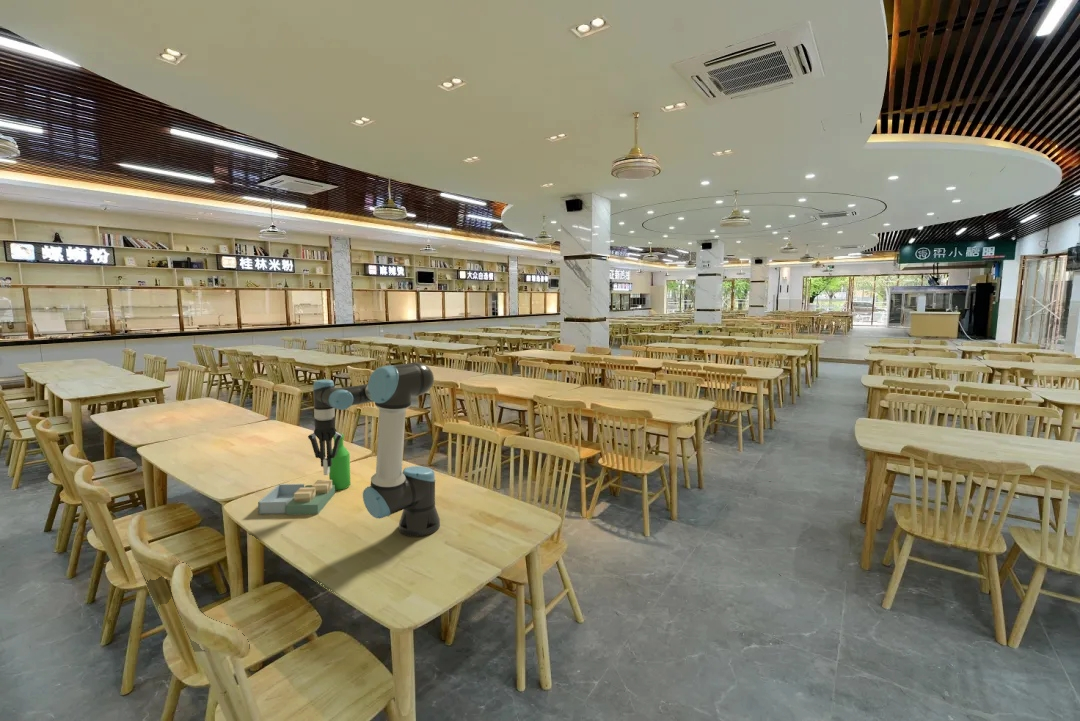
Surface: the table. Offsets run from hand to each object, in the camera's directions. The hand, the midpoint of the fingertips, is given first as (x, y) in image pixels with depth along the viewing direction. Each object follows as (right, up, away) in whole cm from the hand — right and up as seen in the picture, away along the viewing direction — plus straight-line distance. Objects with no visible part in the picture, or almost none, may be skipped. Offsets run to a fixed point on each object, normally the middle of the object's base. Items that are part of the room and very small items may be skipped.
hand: (326, 473), depth 189 cm
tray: (-20, -14, +4) cm, 25 cm away
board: (-8, -14, +5) cm, 17 cm away
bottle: (-4, -12, +22) cm, 26 cm away
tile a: (-9, -10, 0) cm, 14 cm away
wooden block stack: (-6, -9, +9) cm, 14 cm away
